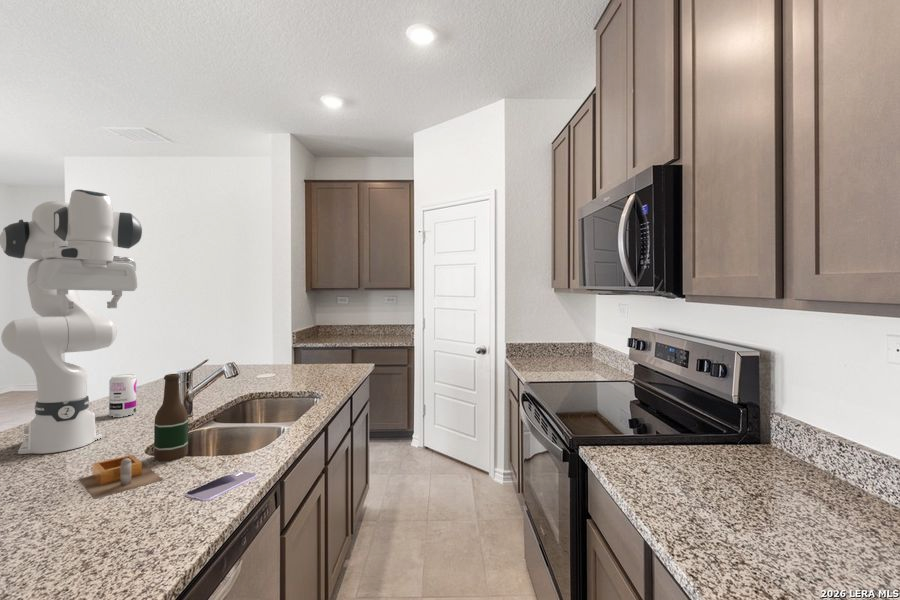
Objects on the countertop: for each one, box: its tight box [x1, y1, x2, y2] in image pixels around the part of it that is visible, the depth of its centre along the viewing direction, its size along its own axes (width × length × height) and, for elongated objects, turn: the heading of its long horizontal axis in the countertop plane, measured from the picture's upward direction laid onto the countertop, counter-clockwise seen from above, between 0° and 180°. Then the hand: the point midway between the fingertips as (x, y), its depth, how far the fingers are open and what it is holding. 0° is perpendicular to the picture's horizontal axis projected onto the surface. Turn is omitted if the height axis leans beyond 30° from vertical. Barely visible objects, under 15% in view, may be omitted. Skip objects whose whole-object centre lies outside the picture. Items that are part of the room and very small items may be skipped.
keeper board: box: [78, 458, 164, 500], centre depth 102 cm, size 16×13×8 cm
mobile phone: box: [184, 470, 258, 502], centre depth 103 cm, size 8×1×15 cm
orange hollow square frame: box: [92, 454, 143, 485], centre depth 105 cm, size 8×8×3 cm
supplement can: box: [108, 373, 138, 418], centre depth 162 cm, size 8×8×15 cm
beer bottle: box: [153, 373, 189, 462], centre depth 117 cm, size 8×8×24 cm
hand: (90, 308), depth 108 cm, fingers open, 8 cm apart
